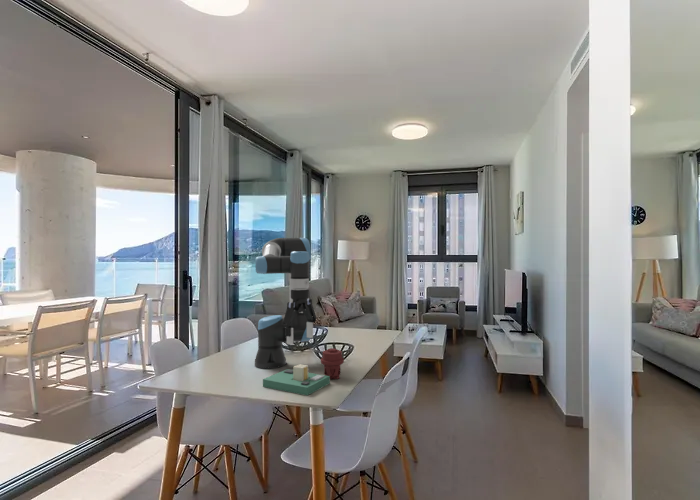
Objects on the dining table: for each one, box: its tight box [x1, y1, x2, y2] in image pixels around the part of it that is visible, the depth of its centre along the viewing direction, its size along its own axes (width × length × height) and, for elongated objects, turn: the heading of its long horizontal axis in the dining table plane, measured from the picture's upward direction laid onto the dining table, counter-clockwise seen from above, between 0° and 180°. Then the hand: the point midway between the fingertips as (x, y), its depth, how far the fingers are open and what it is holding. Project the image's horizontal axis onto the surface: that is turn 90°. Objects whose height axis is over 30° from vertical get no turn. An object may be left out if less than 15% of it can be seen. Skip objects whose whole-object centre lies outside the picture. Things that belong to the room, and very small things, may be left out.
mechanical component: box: [320, 347, 345, 380], centre depth 172 cm, size 12×10×10 cm
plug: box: [292, 363, 309, 381], centre depth 162 cm, size 5×4×8 cm
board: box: [262, 368, 331, 396], centre depth 163 cm, size 22×16×4 cm
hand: (300, 341), depth 162 cm, fingers open, 13 cm apart
